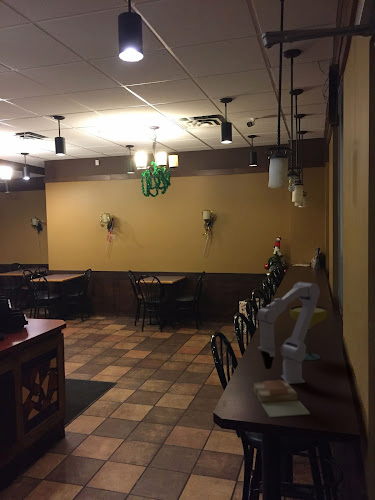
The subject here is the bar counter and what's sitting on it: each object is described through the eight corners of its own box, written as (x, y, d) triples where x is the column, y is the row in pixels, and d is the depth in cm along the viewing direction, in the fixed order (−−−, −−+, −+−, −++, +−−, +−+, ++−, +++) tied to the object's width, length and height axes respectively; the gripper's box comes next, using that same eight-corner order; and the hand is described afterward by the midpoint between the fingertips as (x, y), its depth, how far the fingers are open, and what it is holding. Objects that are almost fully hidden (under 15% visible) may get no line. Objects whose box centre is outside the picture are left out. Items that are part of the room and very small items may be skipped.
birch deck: (253, 390, 174) (252, 383, 174) (285, 387, 176) (285, 380, 175) (262, 404, 160) (262, 396, 160) (297, 401, 162) (297, 393, 161)
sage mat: (261, 404, 160) (261, 403, 160) (299, 401, 161) (299, 400, 161) (269, 417, 149) (269, 416, 149) (310, 414, 150) (310, 413, 150)
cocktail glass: (284, 358, 214) (283, 310, 212) (302, 349, 226) (301, 304, 225) (317, 365, 201) (316, 314, 199) (334, 356, 214) (333, 308, 212)
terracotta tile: (263, 385, 170) (263, 381, 170) (280, 384, 171) (280, 379, 171) (270, 394, 161) (270, 389, 161) (287, 393, 162) (287, 388, 162)
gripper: (253, 333, 181) (254, 363, 182) (262, 342, 167) (263, 375, 168) (269, 331, 182) (270, 362, 183) (279, 340, 168) (280, 373, 168)
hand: (268, 368), depth 175 cm, fingers closed
